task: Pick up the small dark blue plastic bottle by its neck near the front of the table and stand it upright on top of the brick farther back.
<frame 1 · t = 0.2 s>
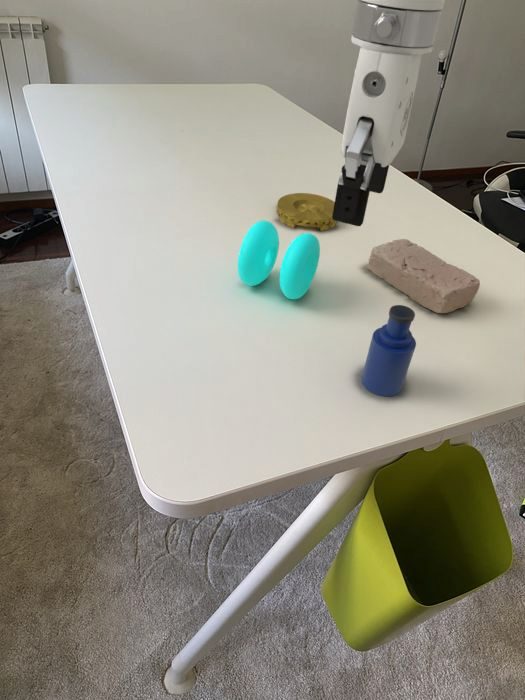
hand: (358, 205, 61), 21 cm above the table, tool pointing down, fingers open, 9 cm apart
pair of turquoise discs: (275, 289, 86), on the table
compass: (307, 217, 107), on the table
brick: (416, 287, 90), on the table
bottle: (381, 382, 70), on the table
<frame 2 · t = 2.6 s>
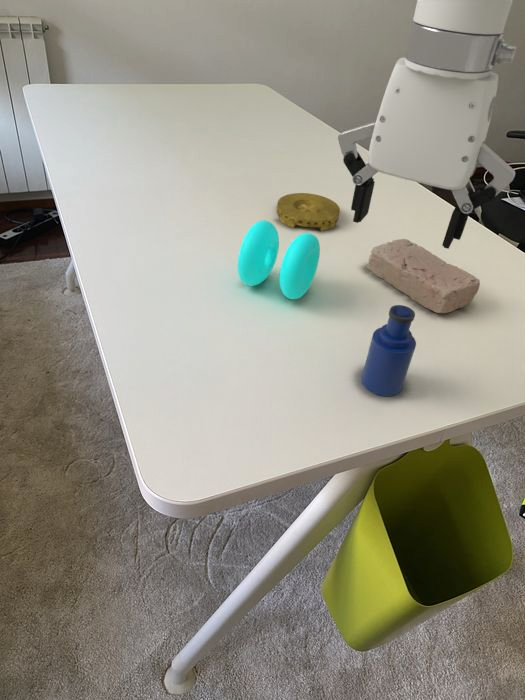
hand: (403, 230, 59), 20 cm above the table, tool pointing down, fingers open, 9 cm apart
nothing on the table moved.
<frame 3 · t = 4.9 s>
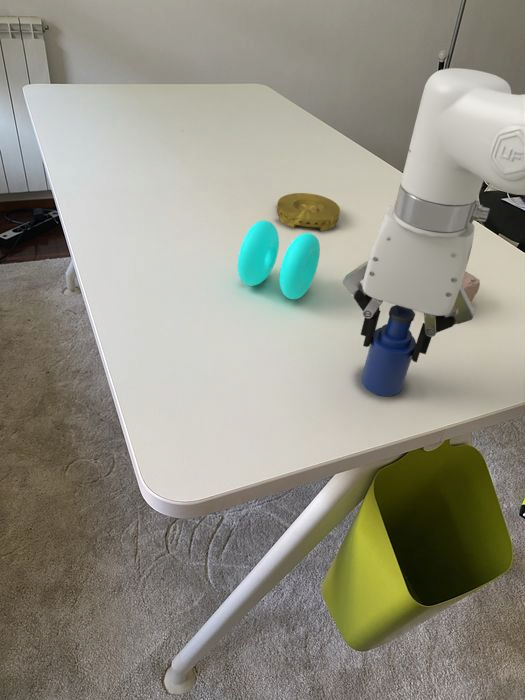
hand: (392, 346, 67), 6 cm above the table, tool pointing down, fingers closed on bottle, 5 cm apart
bottle: (381, 382, 70), on the table, touching gripper
everything else where it was.
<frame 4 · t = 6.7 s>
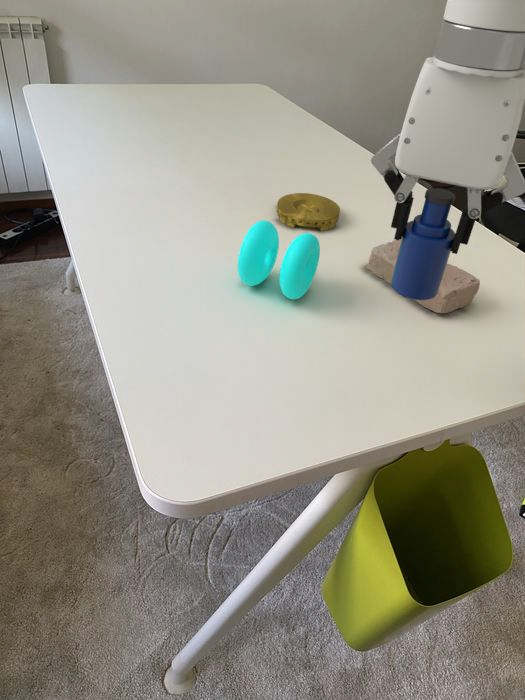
hand: (427, 239, 58), 20 cm above the table, tool pointing down, fingers closed on bottle, 5 cm apart
bottle: (414, 287, 62), point 14 cm above the table, touching gripper
everything else where it was.
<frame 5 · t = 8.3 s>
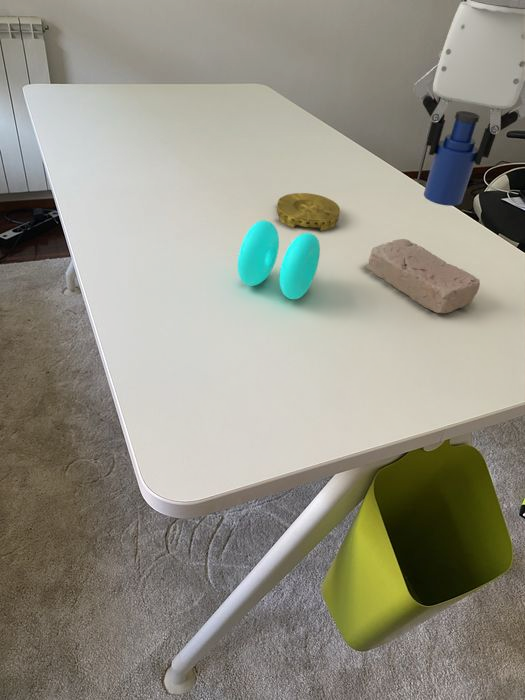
hand: (455, 155, 72), 23 cm above the table, tool pointing down, fingers closed on bottle, 5 cm apart
bottle: (442, 197, 76), point 17 cm above the table, touching gripper
everything else where it was.
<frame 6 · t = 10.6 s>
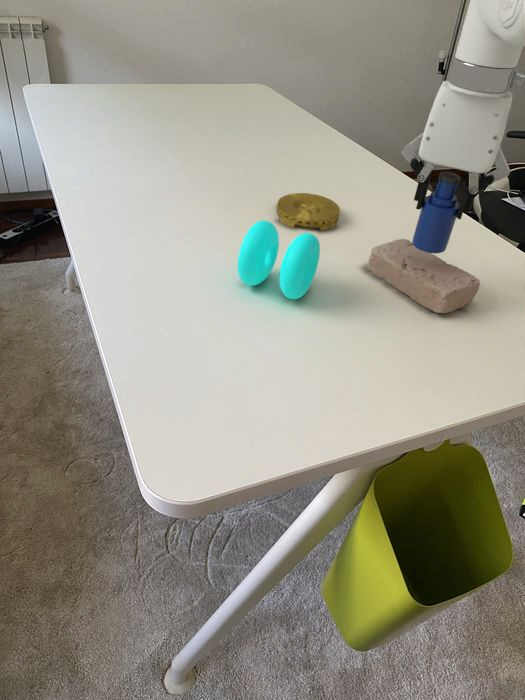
hand: (439, 209, 81), 13 cm above the table, tool pointing down, fingers closed on bottle, 5 cm apart
bottle: (428, 245, 85), point 7 cm above the table, touching gripper
everything else where it was.
when the fingers open (11 cm above the table, at t = 11.9 s): bottle stays where it is, resting on brick.
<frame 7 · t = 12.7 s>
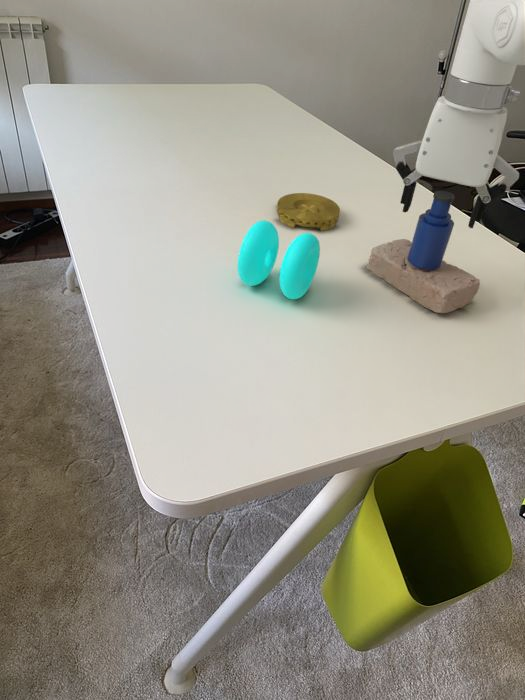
hand: (438, 216, 82), 12 cm above the table, tool pointing down, fingers open, 9 cm apart
brick: (416, 287, 90), on the table, touching bottle
bottle: (424, 261, 87), point 5 cm above the table, touching brick
everything else where it was.
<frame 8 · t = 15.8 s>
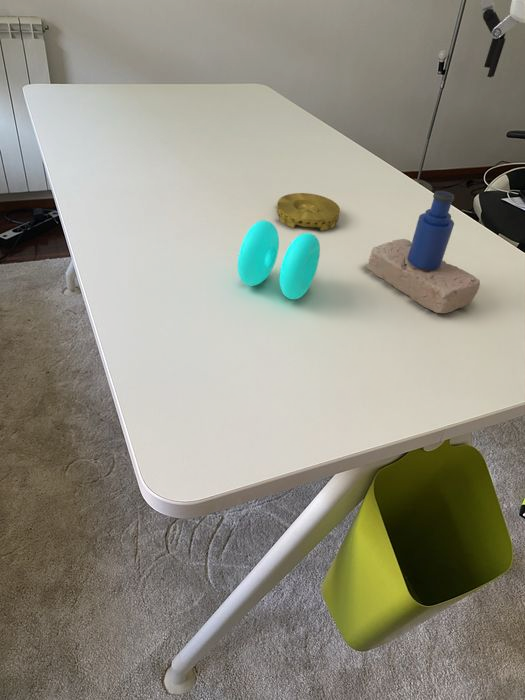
nothing on the table moved.
at the end: bottle inside the target area on the brick (0.1 cm from its centre), point 4.8 cm above the brick's base; bottle tilted 0°; the gripper is holding nothing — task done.
